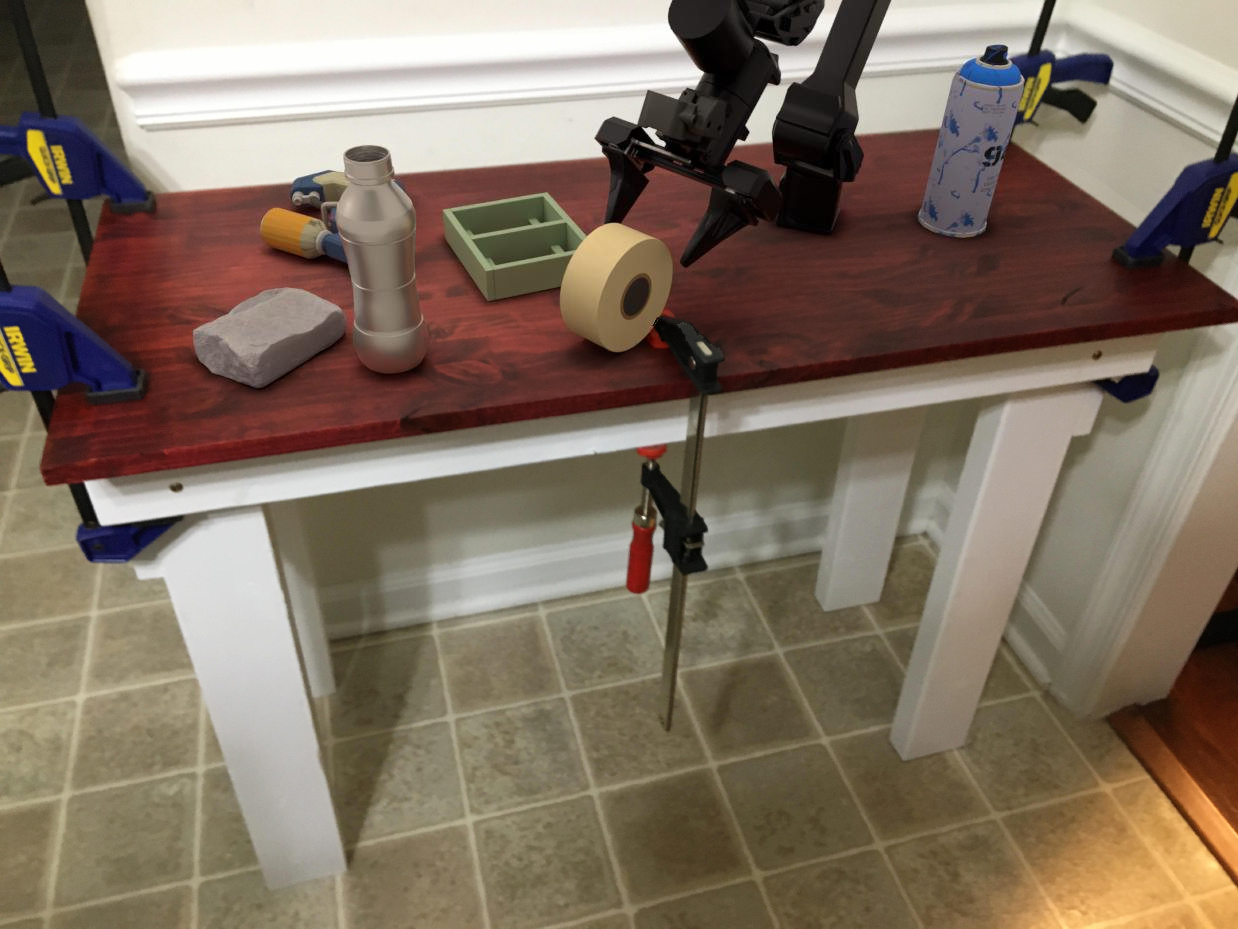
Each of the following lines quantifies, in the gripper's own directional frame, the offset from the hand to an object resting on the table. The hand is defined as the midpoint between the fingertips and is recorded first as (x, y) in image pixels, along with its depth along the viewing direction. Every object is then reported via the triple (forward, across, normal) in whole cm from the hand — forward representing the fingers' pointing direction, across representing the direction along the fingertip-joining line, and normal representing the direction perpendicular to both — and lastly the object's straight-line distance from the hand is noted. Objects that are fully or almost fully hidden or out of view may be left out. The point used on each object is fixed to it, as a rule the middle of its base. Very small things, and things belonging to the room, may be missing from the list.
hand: (643, 249), depth 94 cm
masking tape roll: (+4, 0, -1) cm, 5 cm away
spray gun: (+12, -36, 0) cm, 38 cm away
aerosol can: (-24, +13, +36) cm, 45 cm away
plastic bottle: (+20, -12, -9) cm, 26 cm away
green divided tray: (+5, -18, +6) cm, 20 cm away
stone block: (+25, -23, -13) cm, 36 cm away
